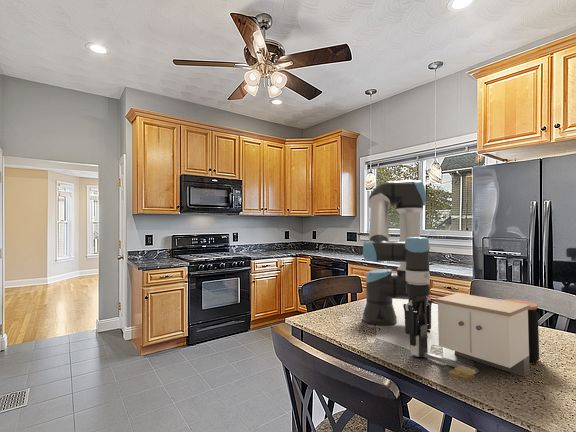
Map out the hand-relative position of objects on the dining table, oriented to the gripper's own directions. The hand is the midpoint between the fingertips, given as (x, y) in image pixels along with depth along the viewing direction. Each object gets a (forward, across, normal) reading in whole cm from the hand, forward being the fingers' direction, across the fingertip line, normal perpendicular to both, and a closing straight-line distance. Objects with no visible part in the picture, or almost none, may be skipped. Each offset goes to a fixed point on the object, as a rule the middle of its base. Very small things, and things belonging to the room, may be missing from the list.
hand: (418, 353), depth 106 cm
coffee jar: (+1, +26, -20) cm, 33 cm away
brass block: (+2, -3, -15) cm, 16 cm away
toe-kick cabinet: (+1, +9, -16) cm, 18 cm away
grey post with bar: (0, 0, -8) cm, 8 cm away
